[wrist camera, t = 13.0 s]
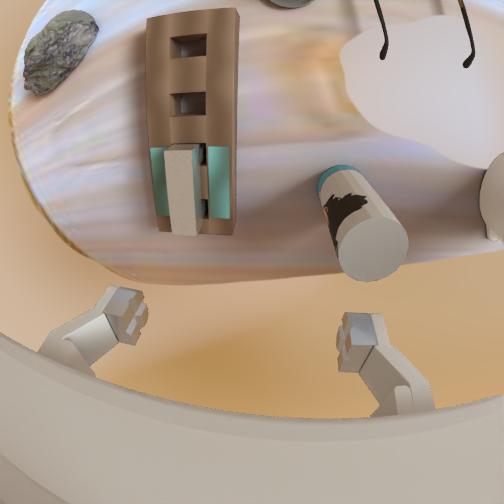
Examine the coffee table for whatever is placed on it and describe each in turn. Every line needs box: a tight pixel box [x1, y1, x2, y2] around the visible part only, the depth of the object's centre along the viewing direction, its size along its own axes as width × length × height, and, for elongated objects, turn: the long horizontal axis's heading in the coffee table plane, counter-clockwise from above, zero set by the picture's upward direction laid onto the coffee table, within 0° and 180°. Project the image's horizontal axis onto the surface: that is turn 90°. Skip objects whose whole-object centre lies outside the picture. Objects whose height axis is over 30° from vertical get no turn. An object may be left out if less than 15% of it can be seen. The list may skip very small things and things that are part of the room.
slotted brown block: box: [146, 8, 240, 236], centre depth 30 cm, size 10×28×4 cm, turn 178°
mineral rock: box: [23, 10, 99, 96], centre depth 21 cm, size 13×11×10 cm
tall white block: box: [164, 143, 208, 236], centre depth 32 cm, size 3×10×8 cm, turn 178°
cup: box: [317, 165, 409, 282], centre depth 29 cm, size 7×7×15 cm
